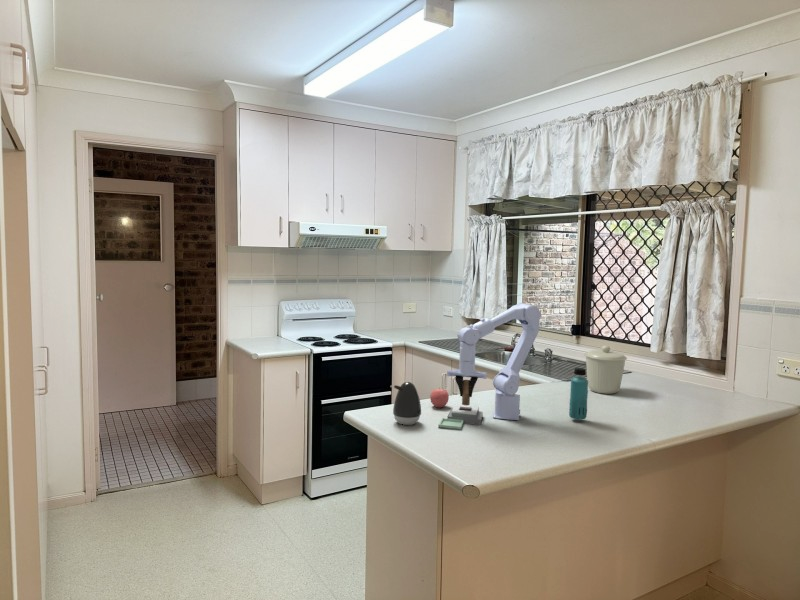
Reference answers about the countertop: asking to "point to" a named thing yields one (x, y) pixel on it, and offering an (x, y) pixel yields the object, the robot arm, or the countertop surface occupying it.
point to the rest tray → (451, 424)
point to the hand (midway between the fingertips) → (466, 396)
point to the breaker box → (466, 414)
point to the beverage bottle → (578, 395)
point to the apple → (439, 397)
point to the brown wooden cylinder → (466, 392)
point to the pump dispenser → (407, 404)
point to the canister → (604, 370)
